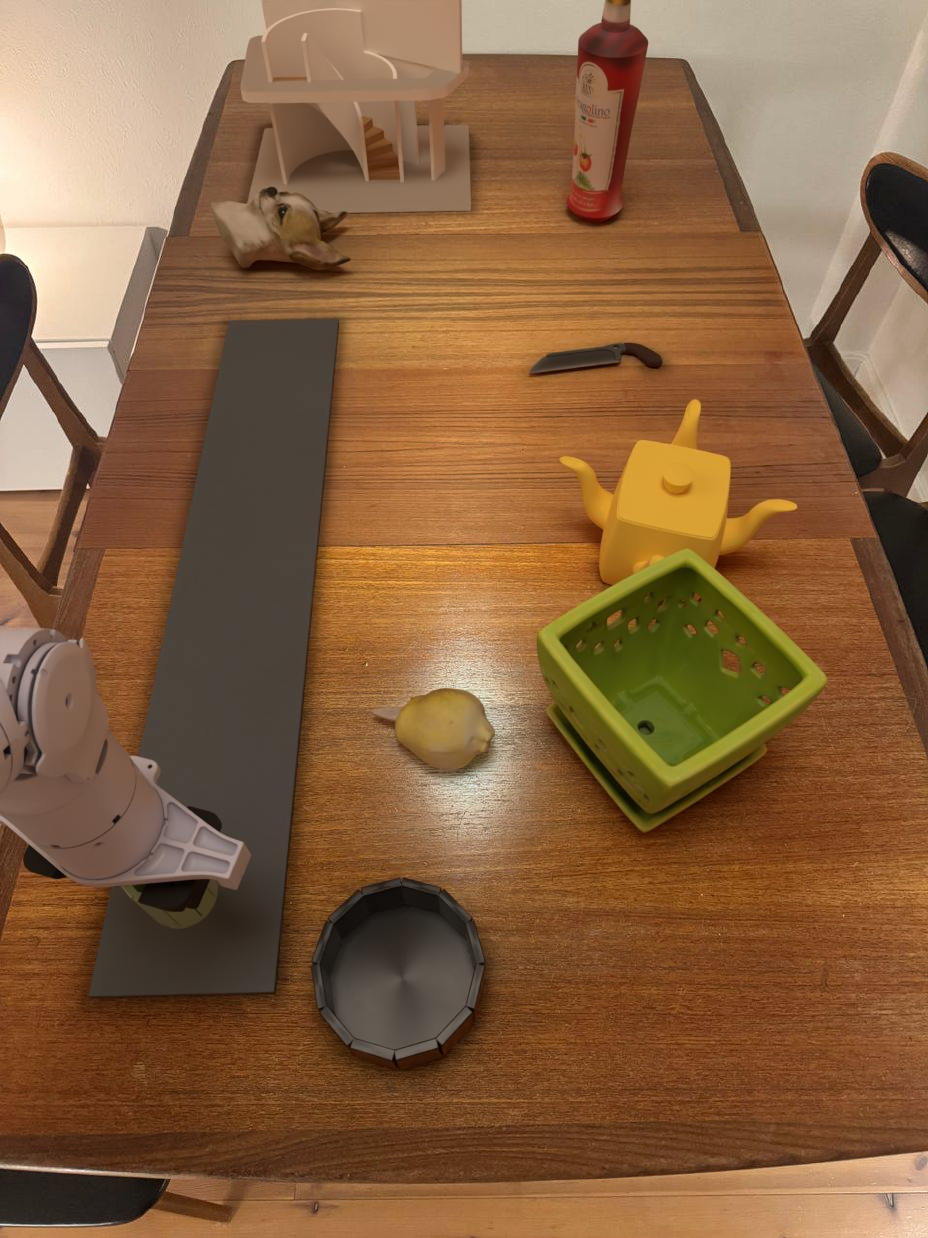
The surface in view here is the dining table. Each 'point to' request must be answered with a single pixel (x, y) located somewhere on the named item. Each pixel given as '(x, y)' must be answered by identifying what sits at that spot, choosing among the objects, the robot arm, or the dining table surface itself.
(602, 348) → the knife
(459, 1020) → the large pot
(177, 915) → the small pot
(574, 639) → the flower pot
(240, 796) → the mat
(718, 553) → the teapot
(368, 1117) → the dining table surface
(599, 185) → the liquor
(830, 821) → the dining table surface
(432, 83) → the architectural model
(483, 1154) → the dining table surface
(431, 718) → the fruit
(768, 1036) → the dining table surface
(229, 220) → the ceramic sculpture
